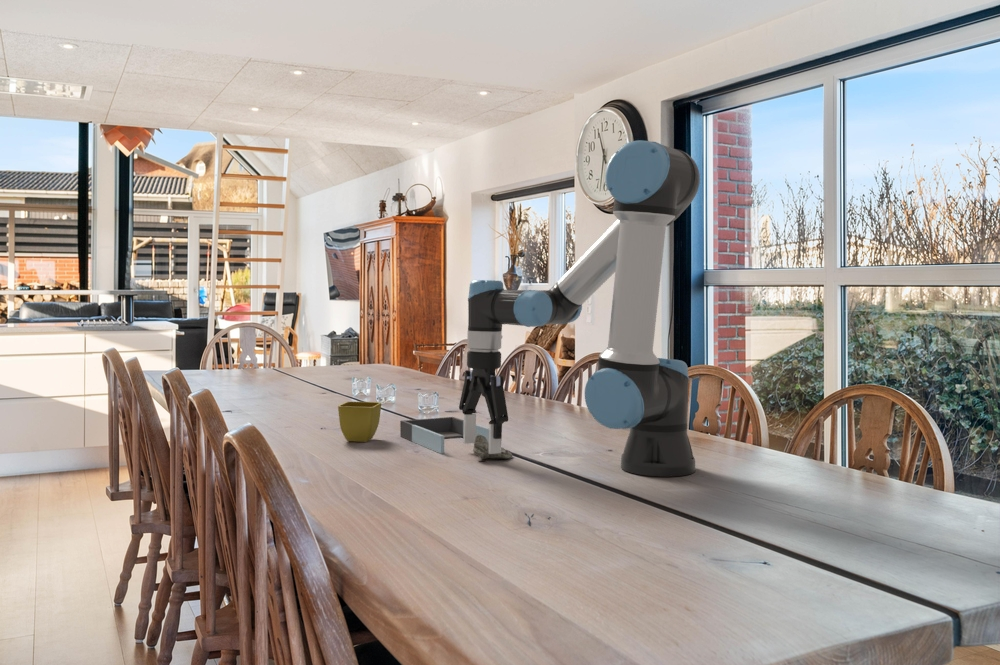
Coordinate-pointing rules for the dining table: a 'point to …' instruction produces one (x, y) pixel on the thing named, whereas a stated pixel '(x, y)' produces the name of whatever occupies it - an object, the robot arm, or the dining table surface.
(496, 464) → the dining table surface
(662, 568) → the dining table surface
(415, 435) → the strips
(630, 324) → the robot arm
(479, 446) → the rock sample
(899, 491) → the dining table surface
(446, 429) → the grey open box
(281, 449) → the dining table surface
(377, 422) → the flower pot
